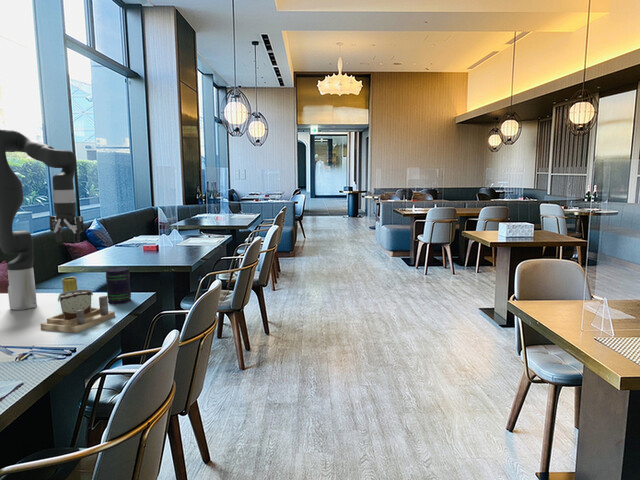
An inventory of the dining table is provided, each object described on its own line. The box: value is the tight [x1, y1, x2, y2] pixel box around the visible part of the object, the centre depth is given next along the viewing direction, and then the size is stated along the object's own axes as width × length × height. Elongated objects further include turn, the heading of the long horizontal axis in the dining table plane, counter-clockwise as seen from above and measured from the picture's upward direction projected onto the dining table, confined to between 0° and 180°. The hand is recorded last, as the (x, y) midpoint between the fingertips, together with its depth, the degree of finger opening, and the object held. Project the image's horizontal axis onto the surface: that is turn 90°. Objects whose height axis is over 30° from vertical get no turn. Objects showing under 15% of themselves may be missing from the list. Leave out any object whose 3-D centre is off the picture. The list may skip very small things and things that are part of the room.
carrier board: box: [39, 295, 116, 334], centre depth 174 cm, size 16×20×9 cm
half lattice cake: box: [57, 289, 94, 320], centre depth 174 cm, size 12×6×10 cm, turn 138°
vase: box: [61, 276, 78, 293], centre depth 188 cm, size 6×6×14 cm
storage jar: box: [105, 266, 132, 305], centre depth 203 cm, size 10×10×15 cm
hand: (68, 242), depth 179 cm, fingers open, 8 cm apart
